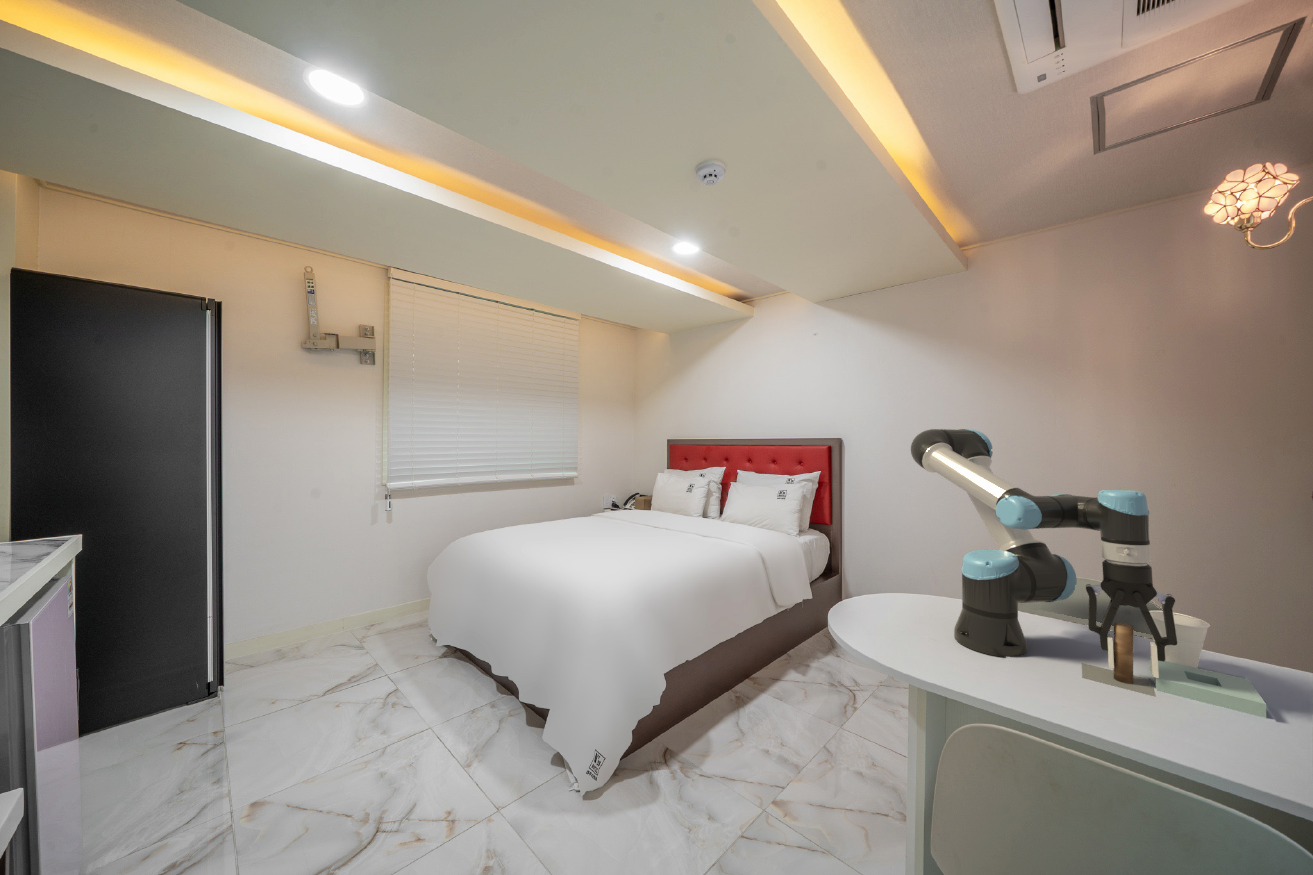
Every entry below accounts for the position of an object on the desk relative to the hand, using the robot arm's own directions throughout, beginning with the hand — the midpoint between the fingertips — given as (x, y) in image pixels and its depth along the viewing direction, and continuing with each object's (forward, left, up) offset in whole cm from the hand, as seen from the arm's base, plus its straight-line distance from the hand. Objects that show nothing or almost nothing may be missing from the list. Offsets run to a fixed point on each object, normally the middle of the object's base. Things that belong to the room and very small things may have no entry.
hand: (1132, 670), depth 99 cm
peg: (-1, 0, -3) cm, 3 cm away
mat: (-3, 0, -3) cm, 4 cm away
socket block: (+10, +5, -3) cm, 12 cm away
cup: (+8, +19, -3) cm, 21 cm away
